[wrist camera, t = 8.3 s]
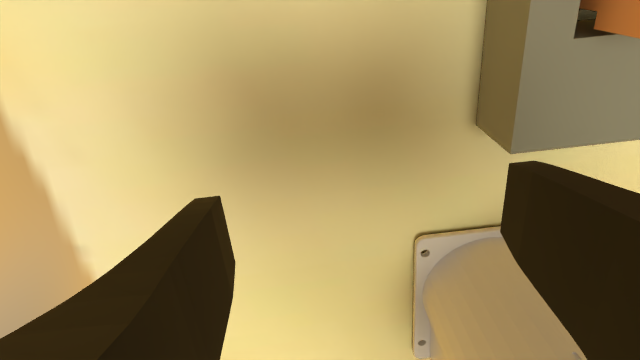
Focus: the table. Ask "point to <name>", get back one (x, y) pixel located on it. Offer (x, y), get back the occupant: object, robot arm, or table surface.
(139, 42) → the table surface
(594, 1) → the orange c-shaped bracket
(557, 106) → the socket rail
